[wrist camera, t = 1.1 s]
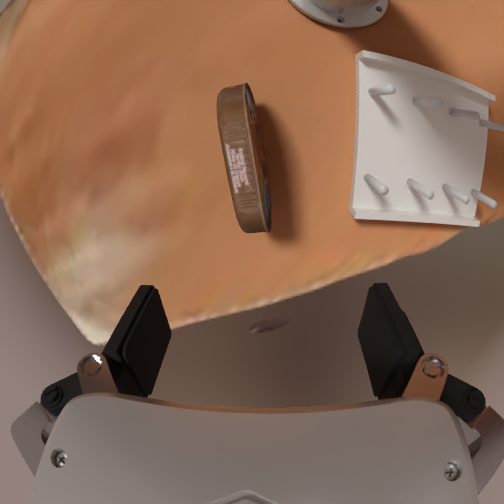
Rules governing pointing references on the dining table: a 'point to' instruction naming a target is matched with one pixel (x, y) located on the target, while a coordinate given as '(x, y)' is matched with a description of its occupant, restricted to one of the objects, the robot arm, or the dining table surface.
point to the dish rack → (417, 143)
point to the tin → (244, 158)
